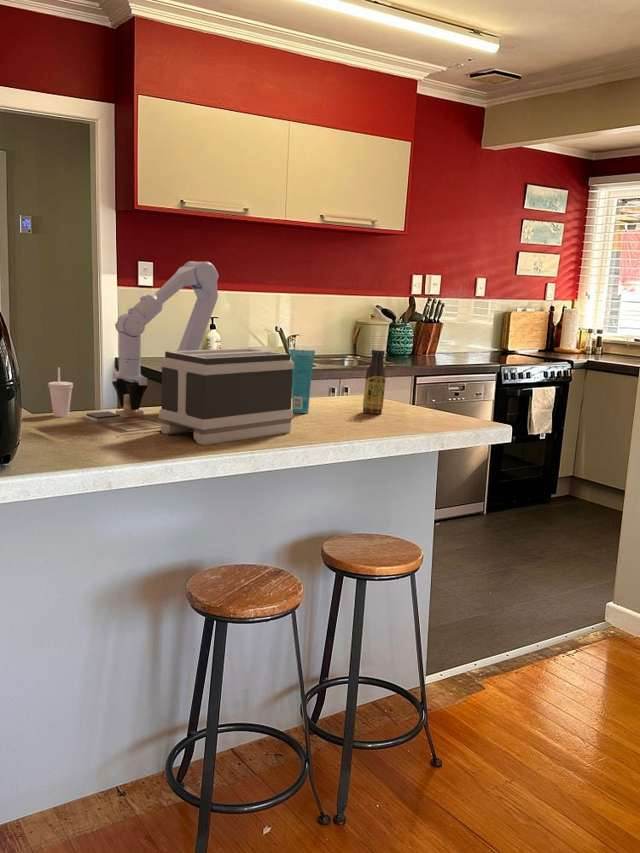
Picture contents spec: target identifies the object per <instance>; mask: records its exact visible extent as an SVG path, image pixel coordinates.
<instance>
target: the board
mask: <svg viewBox="0 0 640 853" xmlns="http://www.w3.org/2000/svg"><path fill="white" fill-rule="evenodd" d="M77 419H79V420H81V421H84V422H87V423H90V424H93V425H96V426H99V427H102V428H104V429H106V430H107V429H108V430H111V431H114V432H116V433H121V434H122V435H121V434H119V437H122V436H124V434H123V433H126V436H130V435H132V436H133V433H132V432H136V433H135V435H139V434H141V432H140V431H145V432H143V434H148V433H149V431H150V430H154V431H151V433H154V432H158V430H159V429H161V420H160V419H159V418H155V417H151V416H148V415H145V414H144V417H138V418H129V419H123V420H119V421H110V422H100V423H96V422H93V421H90V420H87V419H84V417H78V418H77ZM157 429H158V430H157ZM148 430H149V431H148ZM129 432H131V433H129ZM127 433H128V434H127Z"/></svg>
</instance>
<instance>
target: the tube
mask: <svg viewBox="0 0 640 853" xmlns="http://www.w3.org/2000/svg"><path fill="white" fill-rule="evenodd" d="M289 350H290V353H289V354H290V355H291V357H290V360H292V361H293V362H294V369H293V375H292V398H291V409H292V410H293V412H294V413H293V414H300V413H305V414H308V413H309V408H310V397H311V387H312V386H311V383H312V376H313V367H314V361H315V355H316V350H312V349H311V350H310V349H309V350H306V349H305V350H304V349H289Z"/></svg>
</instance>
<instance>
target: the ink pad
mask: <svg viewBox="0 0 640 853" xmlns="http://www.w3.org/2000/svg"><path fill="white" fill-rule="evenodd" d="M83 418H84V419H87V420H90V421H93V422H96V423H100V422H110V421H119V420H123V416H120V415H119V414H116V412H113V411H109V410H107V411H99V412H89V413H86V414H83Z"/></svg>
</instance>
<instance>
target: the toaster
mask: <svg viewBox="0 0 640 853" xmlns="http://www.w3.org/2000/svg"><path fill="white" fill-rule="evenodd" d="M160 367H161V409H159V411H158V420H161V428H160V432H161V434H164V435H167V436H169V435H170V436H171V435H176V434H183V433H192V432H193V440H195V441H196V443H197V445H201V446H209V445H217V444H223V443H230V442H237V441H243V440H245V441H246V440H248V439H249V440H250V439H256V438H263V437H270V436H276V435H277V434H278V435H282V434H283V433H284V434H289V433H290V432H291V428H292V420H293V419H294V413H293V410H292V375H293V369H294V362H293V361H292V360H291V354H290V353H286V352H278V351H273V350H266V349H265V350H264V349H258V348H252V347H244V348H243V347H242V348H241V347H239V348H221V349H219V348H218V349H216V348H215V349H213V348H212V349H199V350H190V351H177V350H173V351H172V350H169V351H165V352H164V357H163V358H161V360H160ZM284 434H283V435H284Z"/></svg>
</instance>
